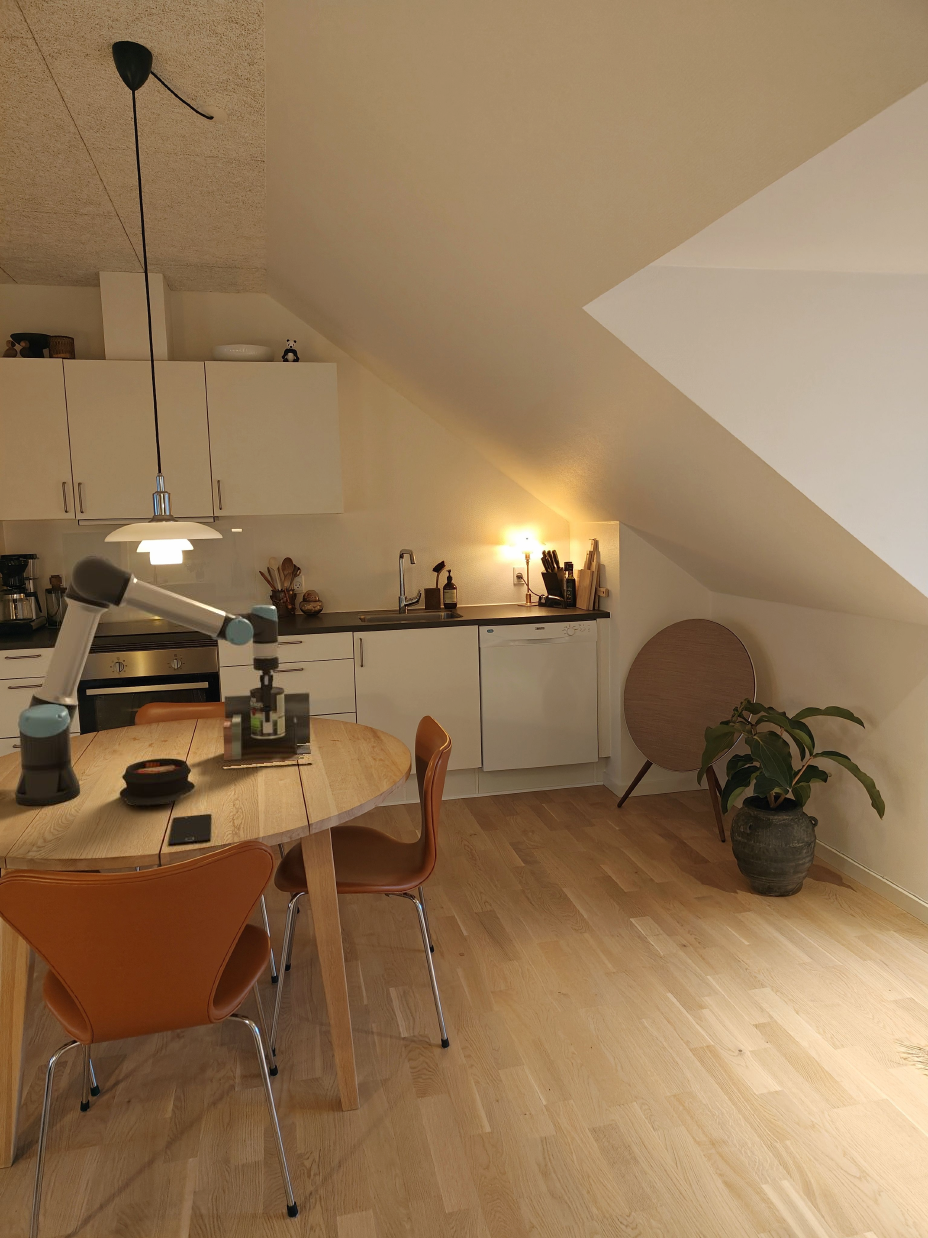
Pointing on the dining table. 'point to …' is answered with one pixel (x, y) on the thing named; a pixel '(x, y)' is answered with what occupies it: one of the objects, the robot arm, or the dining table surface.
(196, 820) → the cell phone
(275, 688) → the coffee can
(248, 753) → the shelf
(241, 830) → the dining table surface
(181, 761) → the casserole
